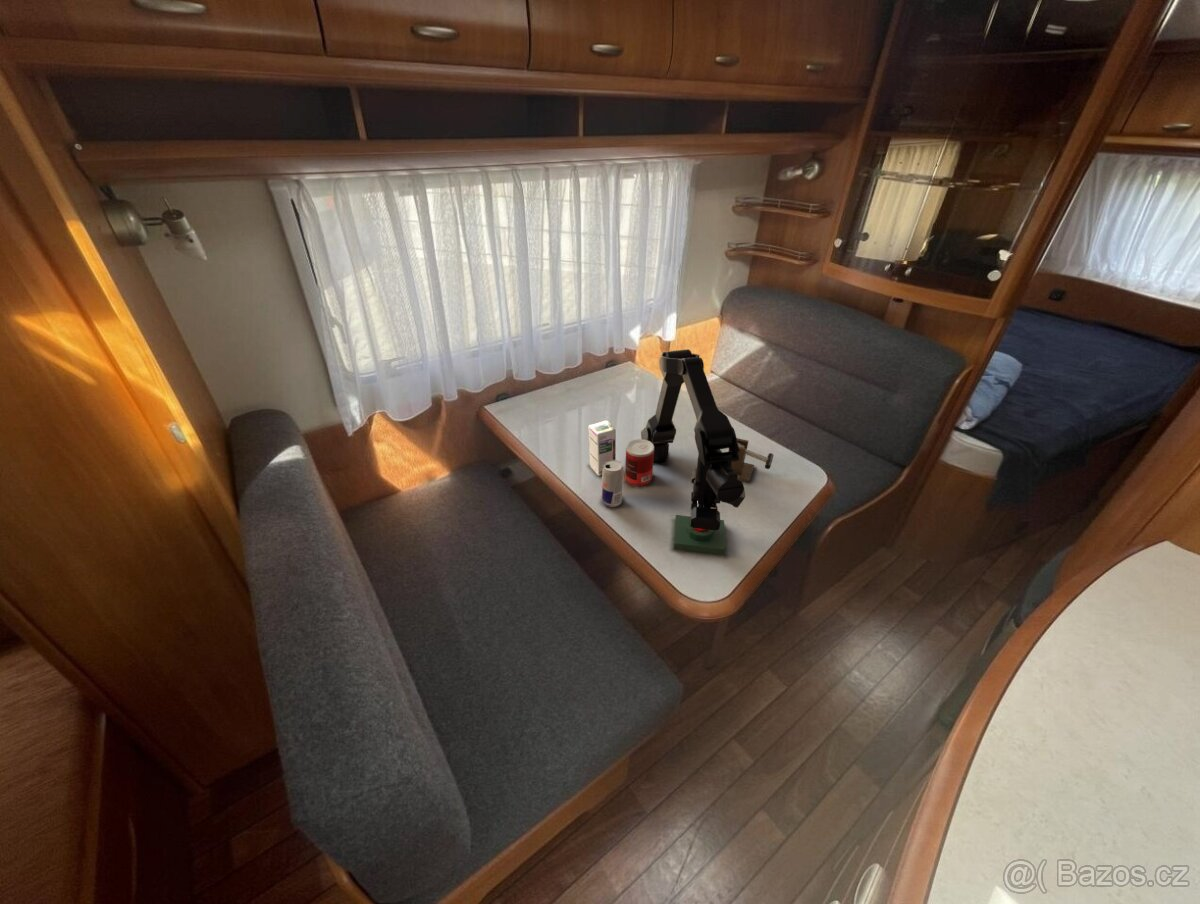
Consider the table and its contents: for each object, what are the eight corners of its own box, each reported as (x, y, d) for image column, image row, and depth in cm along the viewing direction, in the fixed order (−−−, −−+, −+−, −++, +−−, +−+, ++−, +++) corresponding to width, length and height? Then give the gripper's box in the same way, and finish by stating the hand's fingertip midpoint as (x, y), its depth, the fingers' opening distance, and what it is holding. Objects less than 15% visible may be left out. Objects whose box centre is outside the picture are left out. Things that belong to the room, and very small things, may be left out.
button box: (673, 549, 114) (674, 537, 112) (674, 521, 122) (676, 509, 120) (724, 555, 113) (726, 543, 110) (722, 526, 121) (725, 514, 118)
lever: (771, 459, 136) (775, 453, 134) (768, 471, 131) (771, 464, 130) (734, 444, 138) (736, 438, 137) (729, 455, 134) (732, 449, 132)
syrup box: (598, 476, 137) (598, 434, 129) (589, 465, 142) (588, 424, 133) (615, 471, 140) (616, 429, 131) (606, 460, 144) (606, 419, 136)
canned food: (654, 473, 139) (657, 441, 133) (648, 489, 133) (650, 457, 126) (629, 467, 141) (630, 436, 135) (621, 484, 135) (622, 452, 128)
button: (692, 534, 115) (693, 528, 114) (692, 523, 118) (693, 518, 117) (707, 535, 114) (708, 530, 113) (707, 525, 117) (708, 520, 116)
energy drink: (601, 495, 131) (601, 459, 124) (620, 494, 131) (621, 458, 124) (603, 508, 126) (603, 472, 119) (623, 507, 127) (624, 471, 120)
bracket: (753, 468, 141) (759, 440, 135) (748, 483, 135) (754, 455, 129) (719, 459, 144) (724, 432, 139) (713, 474, 138) (718, 446, 133)
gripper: (749, 504, 97) (737, 557, 106) (743, 452, 112) (732, 502, 121) (694, 498, 99) (686, 551, 108) (695, 448, 114) (688, 498, 123)
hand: (700, 524), depth 115 cm, fingers closed, pressing on button
